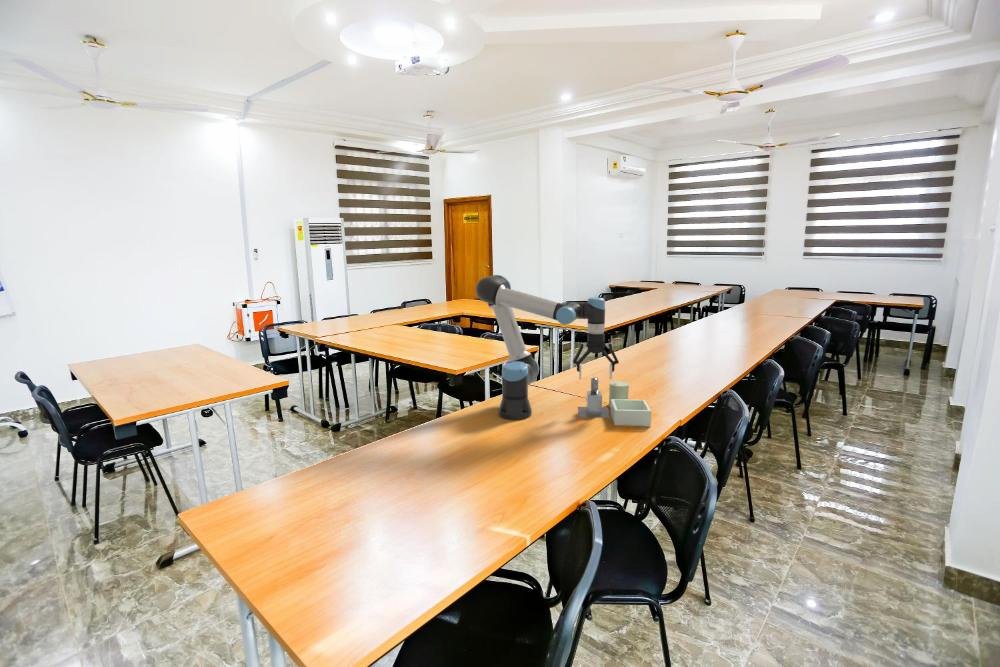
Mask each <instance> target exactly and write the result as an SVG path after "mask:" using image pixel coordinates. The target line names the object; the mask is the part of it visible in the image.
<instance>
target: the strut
mask: <svg viewBox="0 0 1000 667" xmlns="http://www.w3.org/2000/svg"><path fill="white" fill-rule="evenodd" d="M585 404H586V406H585V407H586V410H587V414H593V415H602V407H603V394H602V391H599V378H598V377H591V378H590V390H586V403H585Z"/></svg>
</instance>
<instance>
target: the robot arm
mask: <svg viewBox="0 0 1000 667" xmlns="http://www.w3.org/2000/svg"><path fill="white" fill-rule="evenodd" d="M475 293H476V296H477V297H478V299H480V301H482V302H484V303H487V305H488V307H489V308H490V309H492V310H493V313H494V316H495V318H496V319H495V320H496V321H497V324H498V327H499V330H500V333H501V335H502V338H503V341H504V344H505V347H506V350H507V352H508V356H509V357H508V360H507V363H505V364H504V365H503V366H502V369H501V376H502V377H501V382H502V383H501V388H502V390H501V391H502V393H501V394H502V398H501V401H500V405H499V408H498V415H499V417H501V418H503V419H506V420H514V421H515V420H523V419H527V418H530V417H531V416H532V413H533V411H532V407H531V403H530V400H529V392H528V391H529V385H530V384H532V383H533V382H534V381H536V379H537V377H538V375H539V371H540V366H539V363H538V362H537V361H536V359H534V358H533V355H532V353H531V352H529V351H527V348H526V345H525V342H524V339H523V336H522V333H521V330H520V328H519V325H518V322H517V319H516V316H515V312H514V311H513V309H517V310H521V311H524V312H526V313H530V314H533V315H537V316H540V317H544V318H548V319H551V320H553V321H554V320H555V321H557V322H558V323H560V325H570V324H572V323H573V322H575V321H576V320H587V336H586V337H587V339H586V340H587V342H586V343H583V342H580V344H579V348H578V350H577V352H576V354H575V356H574V358H573V360H572V363H573V364H575V365H576V371H577V372H579V376H578V378H579V380H582V362H583V361H584V360H585V359H586V358H587V357H588V355H590V354H600V353H602V355H603V356H604V357H605V358H606V359H607V360H608V362H609V375H608V376H609V379H610V380H612V379H613V373H614V372H615V365H618V364H619V363H620V362H619V360H618V357H617V354H615V351H614V348H613V345H612V343H611V342H608V343H606V342H605V337H606V336H605V333H604V332H605V331H606V330H605V328H606V324H605V323H606V300H605V299H604V298H603V297H589V298H587V301H586V302H585V301H584V302H583V301H582V302H581V301H579V302H578V301H563V302H562V303H561V302H559V301H558V302H557V301H554V300H551V299H547V298H543V297H541V296H540V297H539V296H537V295H532V294H528V293H525V292H522V291H519V290H515V289H512V285H511V283H510V281H509V279H508V278H507V277H505V276H503V275H499V274H494V275H493V274H492V275H490V276H486V277H485V276H484V277H483V278H481V279H480V280H479V281H478V282H477V283H476V286H475ZM585 347H586V351H585V352H584V353H583V354H582V356H581V353H582V351H583V349H585ZM606 347H607V349H609V351H610V354H611V356H612V357H613V359H614V360H613V359H612V357H610V356H609V355H608V353H607V351H606V350H605V348H606ZM580 356H581V357H580ZM579 357H580V358H579Z"/></svg>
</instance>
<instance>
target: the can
mask: <svg viewBox="0 0 1000 667" xmlns="http://www.w3.org/2000/svg"><path fill="white" fill-rule="evenodd" d="M608 390H609V393H608V394H609V395H608V408H609V407H610V408H611V399H629V392H630V383H629V382H627V381H623V380H613V381H609V389H608Z"/></svg>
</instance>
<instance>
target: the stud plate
mask: <svg viewBox="0 0 1000 667" xmlns="http://www.w3.org/2000/svg"><path fill="white" fill-rule="evenodd" d="M577 411H578V417H579V418H590V419H591V418H598V419H599V418H600V419H601V418H602V419H612V416H611V412H610V410H609V406H608V407H606V406H602V415H593V414H587V410H586V406H577Z"/></svg>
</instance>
